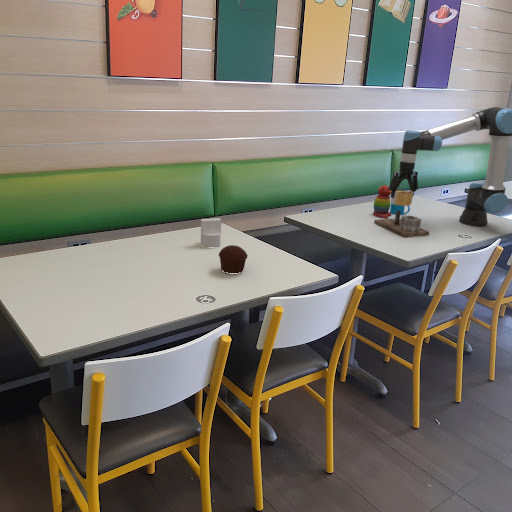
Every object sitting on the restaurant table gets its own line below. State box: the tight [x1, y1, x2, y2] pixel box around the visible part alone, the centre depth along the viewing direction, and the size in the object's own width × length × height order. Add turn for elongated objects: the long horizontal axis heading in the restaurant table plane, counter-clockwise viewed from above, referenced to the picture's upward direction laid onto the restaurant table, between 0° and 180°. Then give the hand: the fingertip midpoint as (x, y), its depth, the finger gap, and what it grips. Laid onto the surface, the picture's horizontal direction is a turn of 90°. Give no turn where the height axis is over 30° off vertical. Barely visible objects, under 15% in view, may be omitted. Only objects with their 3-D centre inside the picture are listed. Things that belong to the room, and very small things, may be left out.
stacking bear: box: [372, 184, 393, 219], centre depth 294 cm, size 11×10×18 cm
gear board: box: [373, 211, 430, 238], centre depth 271 cm, size 16×26×9 cm, turn 22°
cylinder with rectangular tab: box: [200, 217, 222, 248], centre depth 229 cm, size 9×9×12 cm
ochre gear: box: [395, 190, 413, 207], centre depth 269 cm, size 10×10×6 cm
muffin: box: [218, 244, 248, 273], centre depth 202 cm, size 12×11×10 cm
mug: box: [389, 202, 411, 216], centre depth 302 cm, size 12×8×8 cm
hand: (401, 203), depth 270 cm, fingers closed on ochre gear, 10 cm apart
